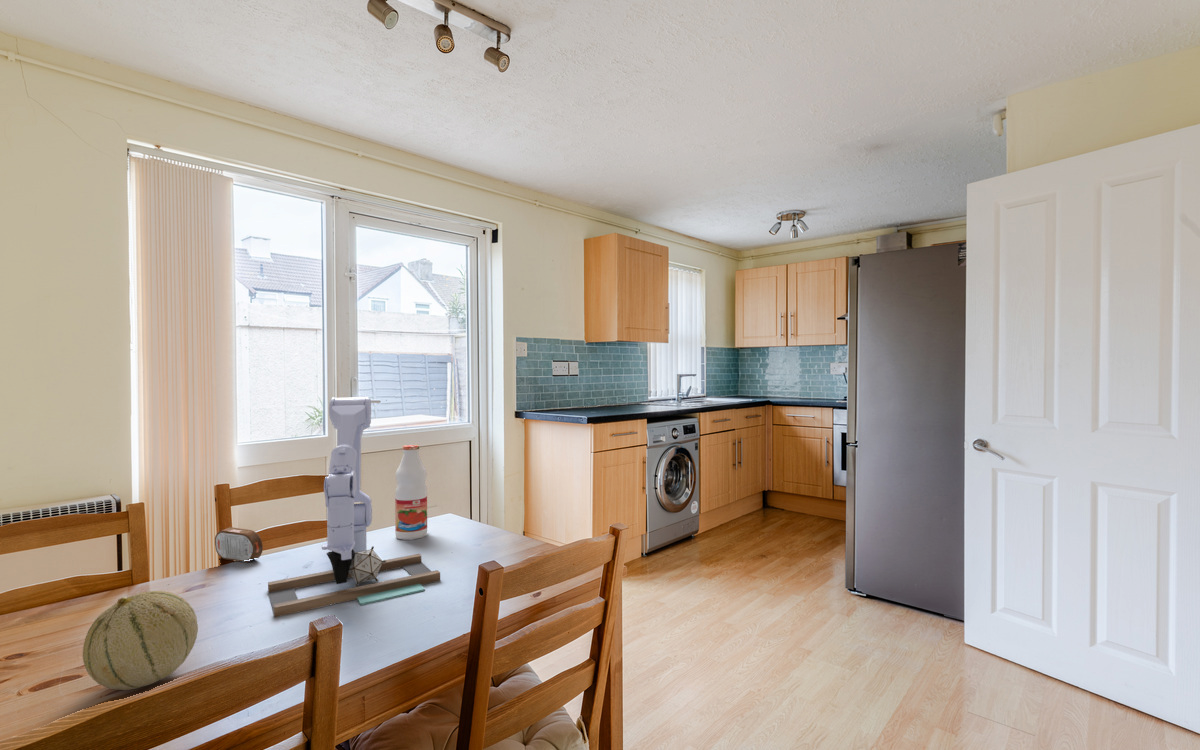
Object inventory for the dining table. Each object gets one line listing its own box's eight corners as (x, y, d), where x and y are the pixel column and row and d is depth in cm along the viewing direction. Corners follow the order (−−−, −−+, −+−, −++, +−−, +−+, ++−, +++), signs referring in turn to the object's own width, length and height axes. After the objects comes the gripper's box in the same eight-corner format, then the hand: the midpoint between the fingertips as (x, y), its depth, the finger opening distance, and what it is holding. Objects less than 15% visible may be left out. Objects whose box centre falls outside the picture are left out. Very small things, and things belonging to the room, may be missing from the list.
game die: (370, 599, 135) (382, 573, 130) (334, 588, 132) (346, 562, 128) (381, 569, 142) (393, 543, 138) (348, 559, 140) (359, 533, 136)
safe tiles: (339, 571, 143) (339, 569, 143) (396, 560, 151) (396, 559, 151) (360, 605, 122) (360, 603, 122) (424, 590, 130) (424, 588, 130)
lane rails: (268, 590, 131) (268, 582, 131) (419, 561, 150) (419, 553, 150) (274, 617, 117) (274, 607, 117) (440, 580, 136) (440, 572, 136)
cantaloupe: (219, 665, 98) (218, 580, 97) (128, 716, 83) (127, 616, 83) (155, 654, 101) (154, 572, 101) (58, 700, 87) (57, 605, 87)
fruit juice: (423, 529, 180) (422, 442, 180) (430, 537, 172) (430, 446, 172) (392, 534, 175) (391, 444, 175) (398, 542, 167) (398, 448, 167)
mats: (268, 593, 129) (268, 592, 129) (421, 563, 149) (421, 562, 149) (273, 613, 118) (273, 612, 118) (437, 578, 138) (437, 576, 138)
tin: (263, 561, 151) (263, 530, 151) (253, 565, 148) (252, 533, 148) (223, 555, 156) (223, 525, 156) (212, 559, 153) (212, 528, 153)
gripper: (317, 520, 135) (317, 576, 135) (326, 534, 123) (327, 596, 123) (348, 516, 139) (349, 570, 139) (361, 529, 127) (361, 589, 127)
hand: (341, 582), depth 131 cm, fingers closed, pressing on game die
